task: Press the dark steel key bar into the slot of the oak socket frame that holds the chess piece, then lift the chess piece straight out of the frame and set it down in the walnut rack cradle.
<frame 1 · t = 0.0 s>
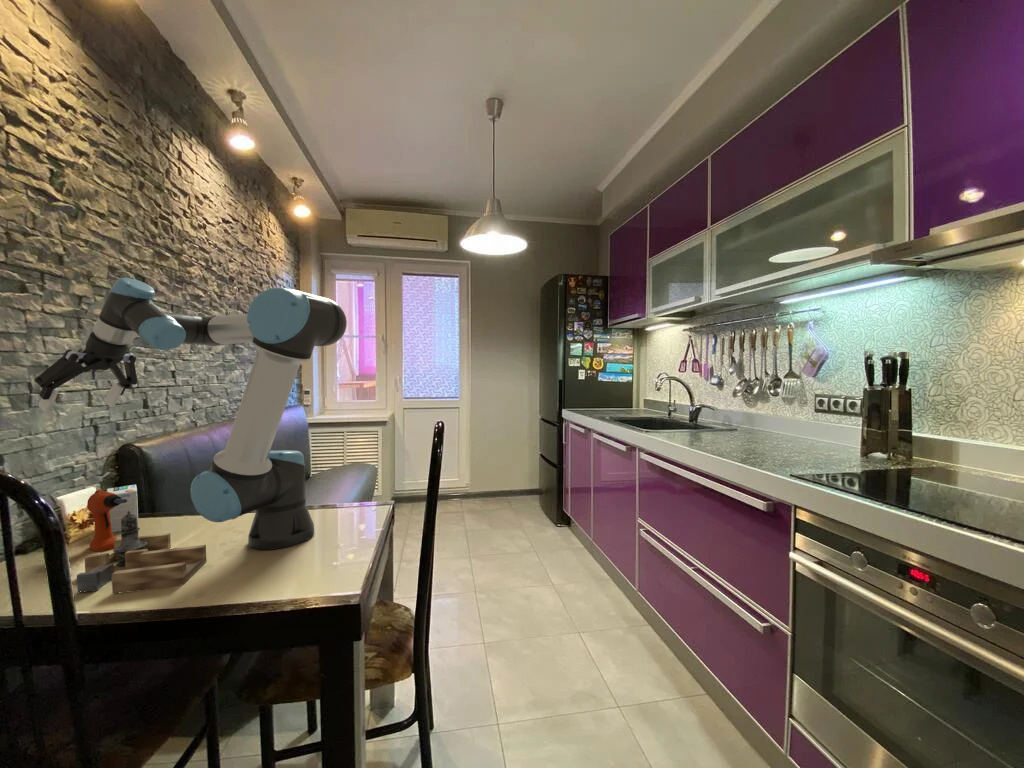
hand: (78, 406, 108), 36 cm above the table, tool tilted 35°, fingers open, 13 cm apart
rack: (163, 576, 91), on the table
toy drill: (112, 550, 106), on the table
key bar: (97, 576, 88), point 2 cm above the table, slide at 0.0 cm
light bulb box: (123, 526, 123), on the table
chess piece: (131, 562, 99), resting in socket frame
socket frame: (131, 561, 99), on the table
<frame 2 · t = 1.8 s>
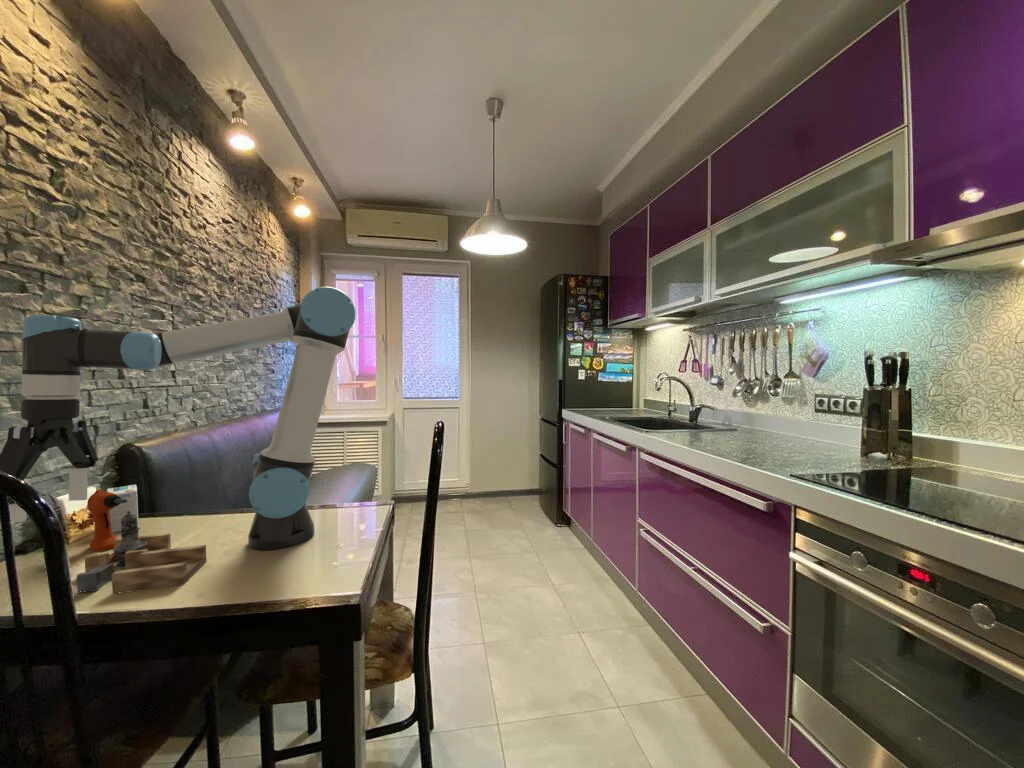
hand: (49, 510, 80), 18 cm above the table, tool pointing down, fingers open, 13 cm apart
nothing on the table moved.
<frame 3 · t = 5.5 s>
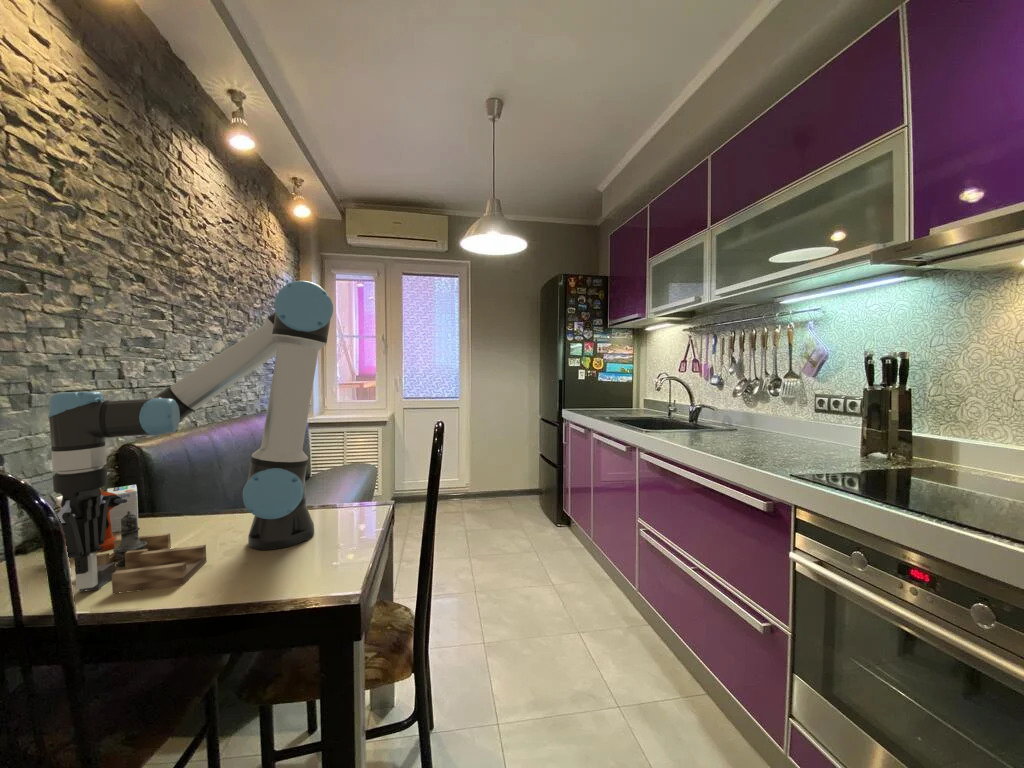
hand: (87, 586, 85), 1 cm above the table, tool pointing down, fingers closed
key bar: (98, 575, 88), point 2 cm above the table, slide at 0.5 cm, touching gripper
everything else where it was.
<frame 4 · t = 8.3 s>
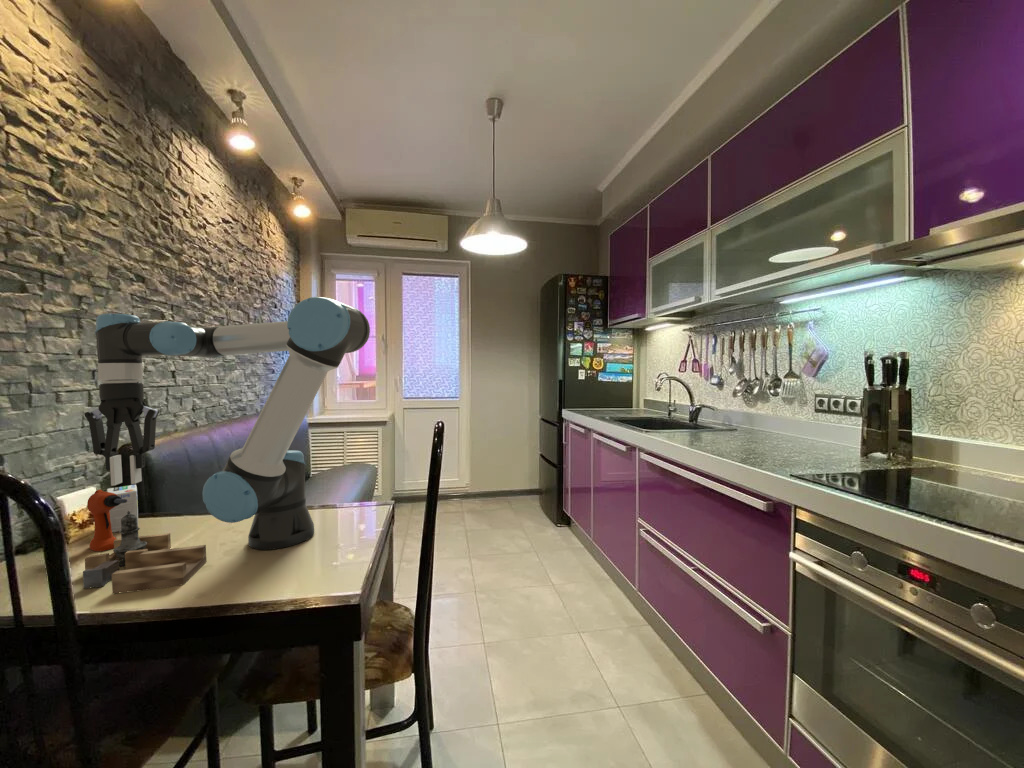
hand: (126, 483, 98), 19 cm above the table, tool pointing down, fingers open, 3 cm apart
key bar: (102, 572, 89), point 2 cm above the table, slide at 1.7 cm
everything else where it was.
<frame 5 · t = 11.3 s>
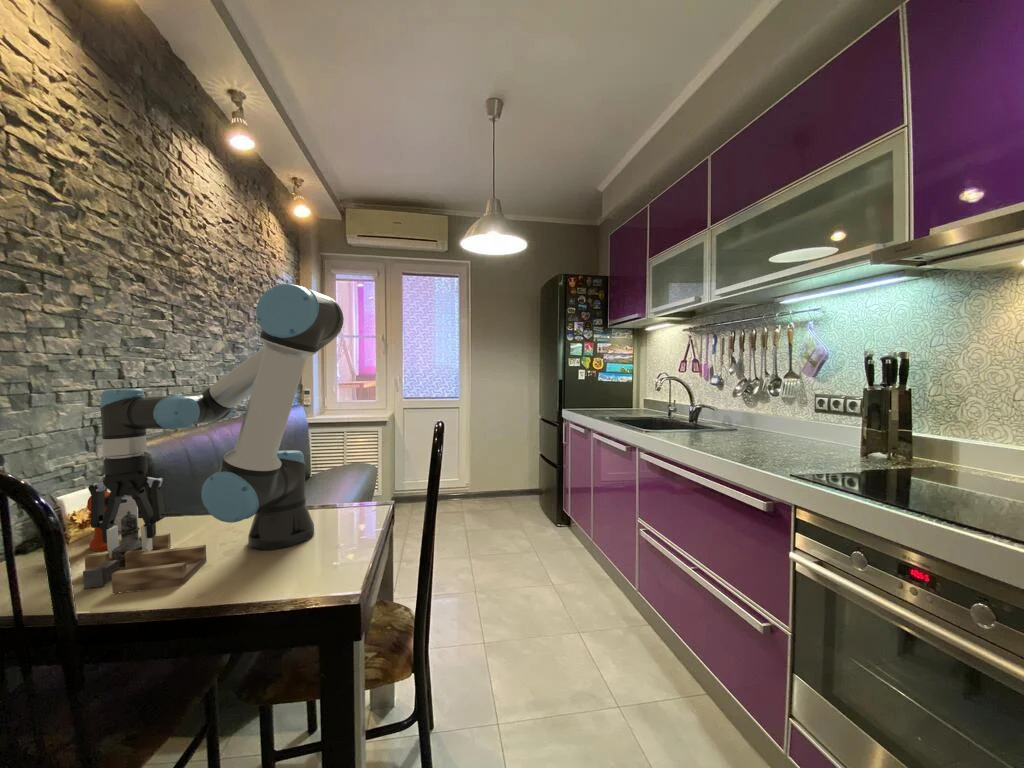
hand: (130, 553, 99), 2 cm above the table, tool pointing down, fingers closed on chess piece, 6 cm apart
chess piece: (131, 562, 99), resting in socket frame, touching gripper
everything else where it was.
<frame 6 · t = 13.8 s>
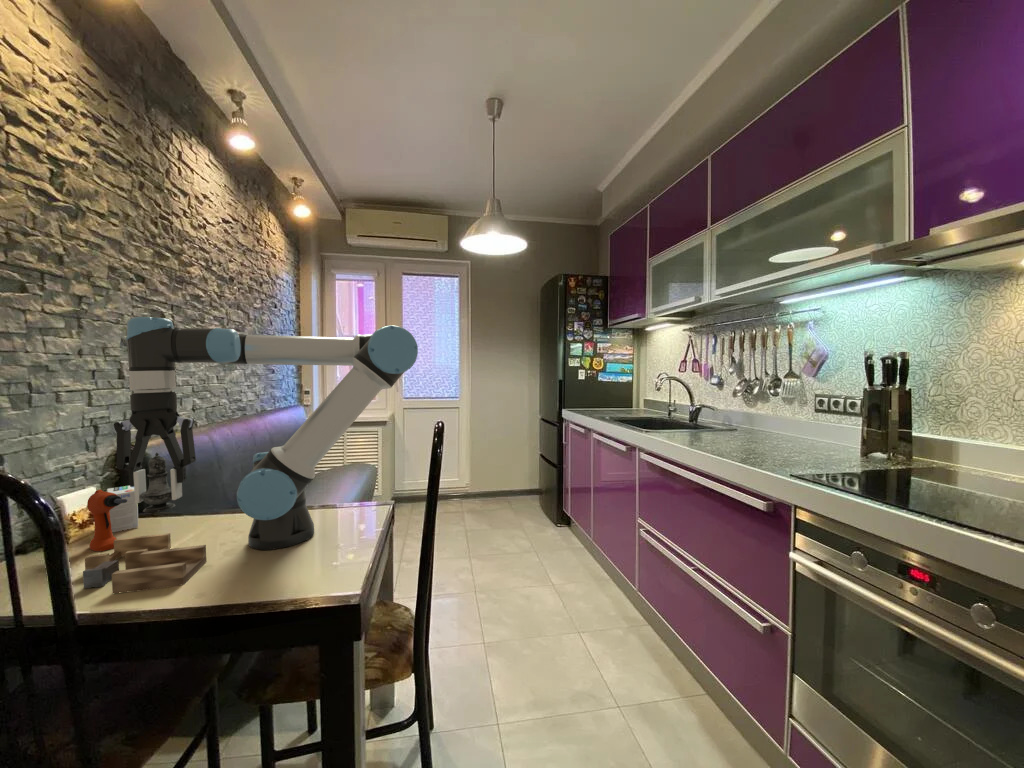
hand: (159, 499, 90), 17 cm above the table, tool pointing down, fingers closed on chess piece, 6 cm apart
chess piece: (159, 509, 90), point 15 cm above the table, touching gripper
everything else where it was.
when the fingers open (4 cm above the table, at t = 16.4 s): chess piece stays where it is, resting on rack.
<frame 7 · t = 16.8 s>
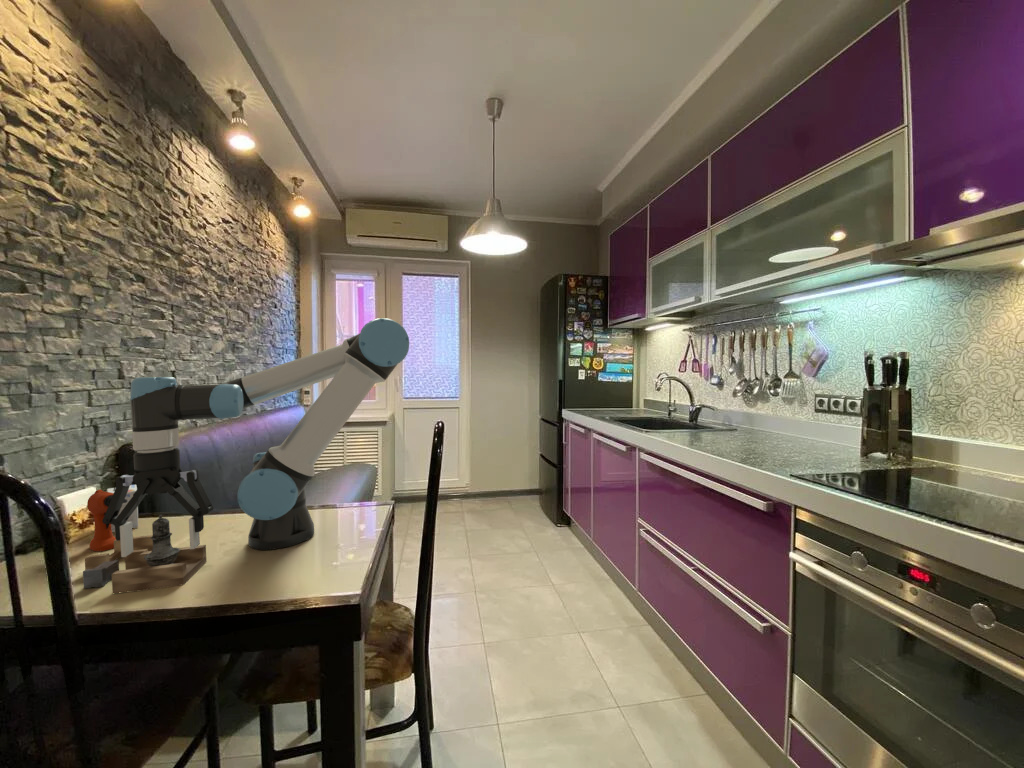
hand: (161, 550, 91), 6 cm above the table, tool pointing down, fingers open, 11 cm apart
chess piece: (163, 570, 91), point 1 cm above the table, touching rack
everything else where it was.
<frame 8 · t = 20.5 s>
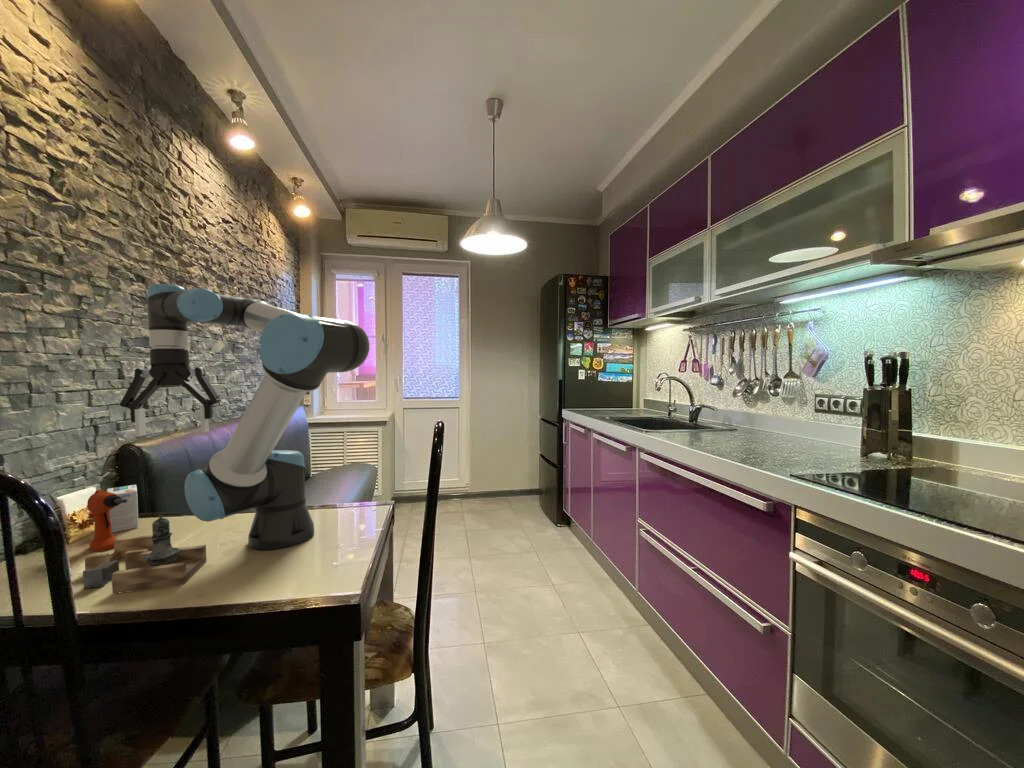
hand: (173, 433, 106), 29 cm above the table, tool pointing down, fingers open, 13 cm apart
nothing on the table moved.
at the end: chess piece inside the target area on the rack (0.1 cm from its centre), point 1.3 cm above the rack's base; chess piece tilted 0°; key bar slide at 1.7 cm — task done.
